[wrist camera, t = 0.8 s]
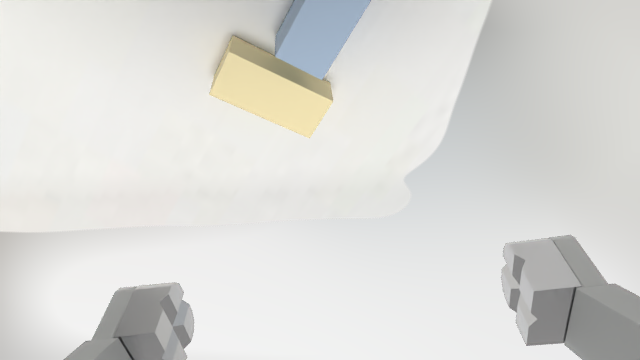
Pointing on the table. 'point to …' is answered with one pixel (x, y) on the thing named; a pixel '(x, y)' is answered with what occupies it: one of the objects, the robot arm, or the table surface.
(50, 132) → the table surface
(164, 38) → the table surface
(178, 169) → the table surface
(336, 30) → the blue-grey block
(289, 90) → the pale yellow block
